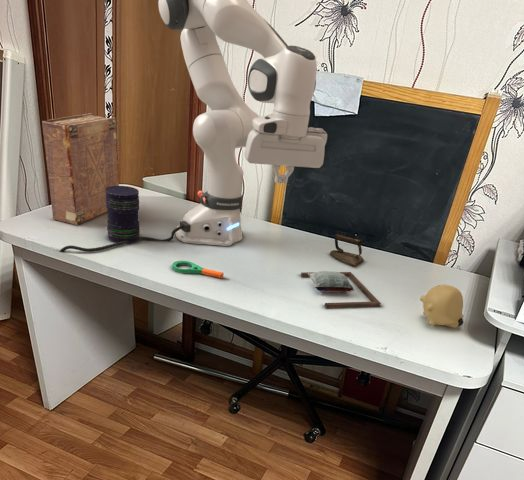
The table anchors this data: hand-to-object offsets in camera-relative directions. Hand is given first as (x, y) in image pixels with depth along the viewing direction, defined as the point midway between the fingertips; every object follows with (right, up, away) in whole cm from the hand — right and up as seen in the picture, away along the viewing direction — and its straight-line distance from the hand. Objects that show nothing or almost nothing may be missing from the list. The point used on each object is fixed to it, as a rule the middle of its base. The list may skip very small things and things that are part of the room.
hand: (280, 182), depth 128 cm
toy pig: (+42, -36, +4) cm, 55 cm away
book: (-65, +4, +45) cm, 79 cm away
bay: (+17, -26, +14) cm, 34 cm away
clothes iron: (+22, -13, +35) cm, 44 cm away
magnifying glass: (-23, -21, +14) cm, 34 cm away
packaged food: (+14, -26, +15) cm, 33 cm away
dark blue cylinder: (-48, -8, +29) cm, 57 cm away
